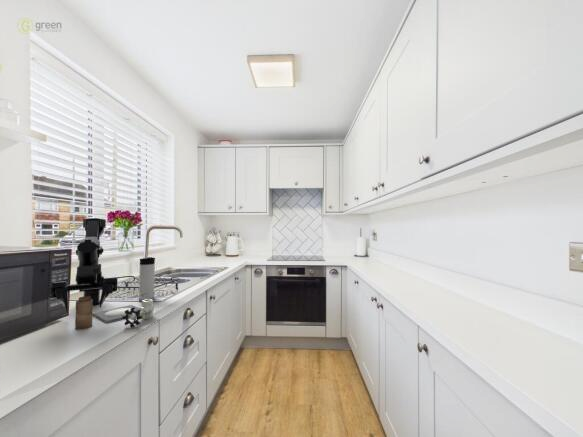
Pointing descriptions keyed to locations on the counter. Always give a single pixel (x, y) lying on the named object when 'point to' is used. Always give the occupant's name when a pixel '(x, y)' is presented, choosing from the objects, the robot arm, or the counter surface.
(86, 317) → the pepper mill
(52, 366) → the counter surface
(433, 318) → the counter surface
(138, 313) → the valve
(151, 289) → the travel mug
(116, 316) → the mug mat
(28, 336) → the counter surface
